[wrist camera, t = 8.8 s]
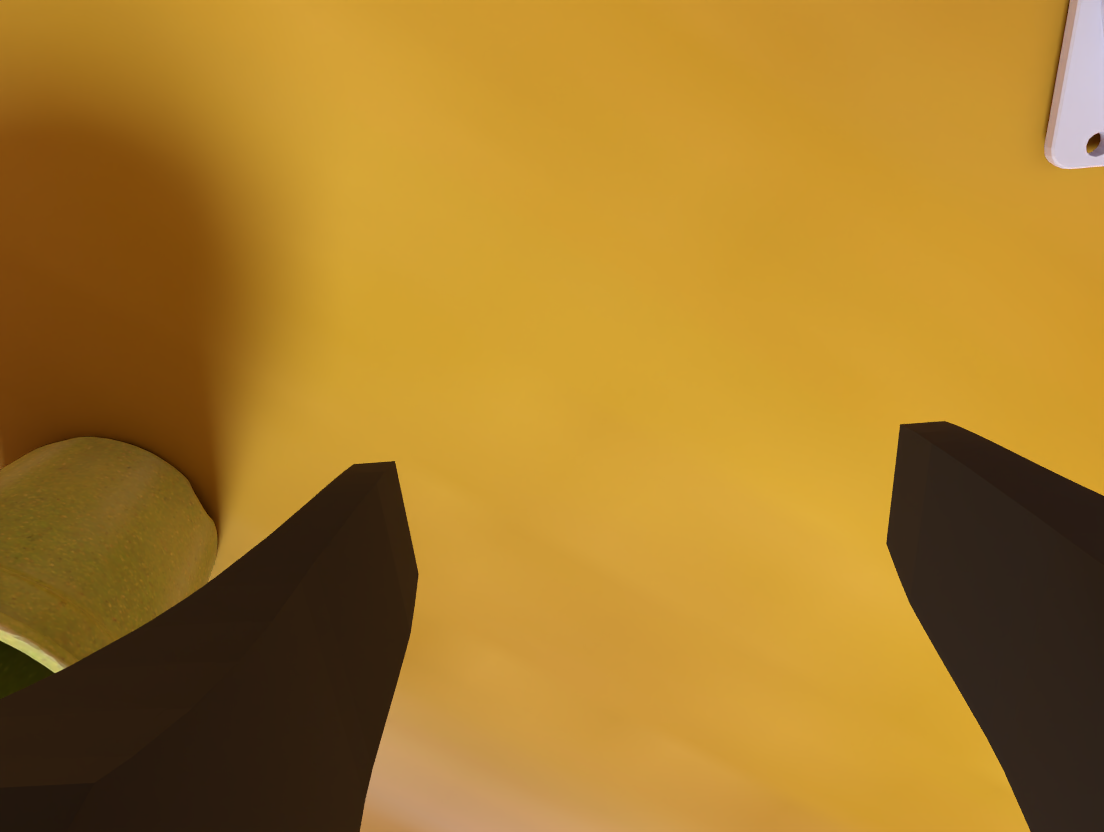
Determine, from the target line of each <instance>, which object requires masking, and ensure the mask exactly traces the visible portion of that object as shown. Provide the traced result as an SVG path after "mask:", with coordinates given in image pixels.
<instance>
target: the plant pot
mask: <svg viewBox="0 0 1104 832" xmlns="http://www.w3.org/2000/svg"><path fill="white" fill-rule="evenodd" d="M217 545H218V539H217V531H216V527H215V524H214V521H213V520H212V519H211V518H210V517H209V516H208V514H207V513H206V512H205V510H204V509H203V507H202V505H201V503H200V501H199V500H198V498H197V496H196V495H195V493H194V491H193V489H192V487H191V484H190V482H189V481H188V480H187V478H186V477H185V476H184V475H183V474H182V473H180V472H179V471H178V470H177V469H176V468H174V467H173V466H172V465H170V464H169V463H167V462H166V461H164V460H163V459H161V458H159V457H158V456H156V455H154V454H152V453H151V452H149V451H146V450H144V449H141V448H139V447H136V446H134V445H131V444H128V443H125V442H121V441H117V440H112V439H107V438H99V437H77V438H72V439H68V440H64V441H60V442H56V443H52V444H49V445H45V446H42V447H40V448H37V449H35V450H33V451H31V452H29V453H28V454H26V455H24V456H22V457H21V458H19V459H17V460H16V461H14V462H12V463H11V464H9V465H7V466H6V467H4V468H2V469H1V470H0V699H1V698H4V697H6V696H8V695H10V694H12V693H15V692H17V691H19V690H21V689H23V688H26V687H28V686H30V685H32V684H34V683H36V682H38V681H40V680H42V679H44V678H46V677H48V676H50V675H52V674H54V673H57V672H59V671H61V670H63V669H65V668H66V667H68V666H70V665H72V664H74V663H76V662H78V661H80V660H81V659H83V658H85V657H87V656H89V655H90V654H92V653H94V652H96V651H98V650H99V649H101V648H103V647H105V646H107V645H109V644H110V643H112V642H114V641H116V640H118V639H119V638H121V637H123V636H125V635H127V634H128V633H130V632H132V631H134V630H136V629H138V628H139V627H141V626H143V625H144V624H146V623H147V622H149V621H151V620H152V619H154V618H156V617H157V616H159V615H160V614H162V613H163V612H165V611H166V610H168V609H170V608H171V607H173V606H174V605H176V604H177V603H179V602H180V601H182V600H184V599H185V598H187V597H188V596H190V595H191V594H192V593H194V592H195V591H197V590H198V589H200V588H201V587H203V586H204V585H205V584H207V583H208V580H209V577H210V574H211V571H212V569H213V566H214V564H215V559H216V554H217Z"/></svg>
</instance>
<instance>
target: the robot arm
mask: <svg viewBox="0 0 1104 832" xmlns="http://www.w3.org/2000/svg"><path fill="white" fill-rule="evenodd" d="M1097 133H1100V137H1101V141H1100V143H1099V145H1098V147H1097V148H1096V149H1095V150H1094V151H1093V152H1090V153H1087V151H1086V145H1087V143H1088V140H1089V139H1090V138H1091V137H1092V136H1093V135H1094V134H1097ZM1044 148H1045V156H1046V158H1047V160H1048V162H1050V163H1051V164H1053V165H1055V166H1057V167H1060V168H1065V169H1075V168H1087V167H1098V166H1104V0H1070V4H1069V10H1068V16H1067V21H1066V27H1065V33H1064V38H1063V44H1062V50H1061V55H1060V61H1059V67H1058V72H1057V78H1056V84H1055V89H1054V95H1053V101H1052V106H1051V112H1050V118H1049V123H1048V129H1047V134H1046V140H1045V146H1044ZM886 544H887V547H888V549H889V552H890V555H891V557H892V560H893V563H894V565H895V568H896V571H897V573H898V576H899V578H900V581H901V583H902V586H903V588H904V591H905V593H906V595H907V598H908V600H909V603H910V605H911V606H912V608H913V610H914V612H915V614H916V616H917V617H918V619H919V621H920V623H921V624H922V626H923V628H924V630H925V632H926V633H927V635H928V637H929V639H930V640H931V642H932V644H933V646H934V647H935V649H936V651H937V653H938V654H939V656H940V658H941V660H942V661H943V663H944V665H945V666H946V668H947V670H948V672H949V673H950V675H951V677H952V679H953V680H954V682H955V684H956V685H957V687H958V689H959V691H960V692H961V694H962V696H963V698H964V699H965V701H966V703H967V704H968V706H969V708H970V710H971V711H972V713H973V715H974V717H975V718H976V720H977V722H978V723H979V725H980V727H981V729H982V730H983V732H984V734H985V736H986V737H987V739H988V741H989V743H990V745H991V747H992V749H993V751H994V753H995V755H996V756H997V758H998V760H999V762H1000V764H1001V766H1002V768H1003V770H1004V772H1005V774H1006V777H1007V779H1008V781H1009V784H1010V786H1011V788H1012V790H1013V793H1014V795H1015V797H1016V799H1017V802H1018V804H1019V806H1020V808H1021V811H1022V813H1023V815H1024V817H1025V820H1026V822H1027V824H1028V826H1029V829H1030V831H1031V832H1104V496H1103V495H1101V494H1098V493H1096V492H1094V491H1092V490H1090V489H1088V488H1085V487H1083V486H1081V485H1079V484H1077V483H1075V482H1073V481H1071V480H1069V479H1067V478H1064V477H1062V476H1060V475H1058V474H1056V473H1054V472H1052V471H1050V470H1048V469H1046V468H1044V467H1042V466H1040V465H1038V464H1036V463H1034V462H1032V461H1030V460H1028V459H1026V458H1024V457H1022V456H1020V455H1018V454H1016V453H1014V452H1012V451H1010V450H1008V449H1006V448H1004V447H1002V446H1000V445H998V444H996V443H994V442H992V441H990V440H987V439H985V438H983V437H981V436H979V435H977V434H975V433H973V432H970V431H968V430H966V429H964V428H961V427H959V426H957V425H954V424H951V423H949V422H946V421H941V422H927V423H913V424H900V431H899V440H898V448H897V457H896V465H895V474H894V483H893V491H892V500H891V508H890V517H889V526H888V534H887V543H886ZM417 582H418V569H417V564H416V560H415V555H414V550H413V545H412V541H411V536H410V531H409V526H408V522H407V517H406V512H405V507H404V503H403V498H402V493H401V488H400V483H399V479H398V474H397V469H396V464H395V461H392V462H378V463H364V464H354V465H352V466H351V467H349V468H348V469H347V470H345V471H344V472H343V473H342V474H340V475H339V476H338V477H337V478H336V479H334V480H333V481H332V482H331V483H330V484H328V485H327V486H326V487H325V488H324V489H323V490H322V491H320V492H319V493H318V494H317V495H316V496H315V497H314V498H312V499H311V500H310V501H309V502H308V503H307V504H306V505H304V506H303V507H302V508H301V509H300V510H299V511H297V512H296V513H295V514H294V515H293V516H291V517H290V518H289V519H288V520H287V521H286V522H284V523H283V524H282V525H281V526H280V527H279V528H277V529H276V530H275V531H274V532H273V533H272V534H270V535H269V536H268V537H267V538H265V539H264V540H263V541H262V542H260V543H259V544H258V545H256V546H255V547H254V548H253V549H251V550H250V551H249V552H247V553H246V554H245V555H244V556H242V557H241V558H240V559H238V560H237V561H236V562H235V563H233V564H232V565H231V566H229V567H228V568H227V569H226V570H224V571H223V572H222V573H220V574H219V575H218V576H217V577H215V578H214V579H212V580H211V581H210V582H208V583H207V584H205V585H204V586H203V587H201V588H200V589H198V590H197V591H195V592H194V593H192V594H191V595H190V596H188V597H187V598H185V599H184V600H182V601H180V602H179V603H177V604H176V605H174V606H173V607H171V608H170V609H168V610H166V611H165V612H163V613H162V614H160V615H159V616H157V617H156V618H154V619H152V620H151V621H149V622H147V623H146V624H144V625H143V626H141V627H139V628H138V629H136V630H134V631H132V632H130V633H128V634H127V635H125V636H123V637H121V638H119V639H118V640H116V641H114V642H112V643H110V644H109V645H107V646H105V647H103V648H101V649H99V650H98V651H96V652H94V653H92V654H90V655H89V656H87V657H85V658H83V659H81V660H80V661H78V662H76V663H74V664H72V665H70V666H68V667H66V668H65V669H63V670H61V671H59V672H57V673H54V674H52V675H50V676H48V677H46V678H44V679H42V680H40V681H38V682H36V683H34V684H32V685H30V686H28V687H26V688H23V689H21V690H19V691H17V692H15V693H12V694H10V695H8V696H6V697H4V698H1V699H0V832H360V826H361V821H362V815H363V809H364V803H365V798H366V794H367V790H368V786H369V781H370V777H371V773H372V769H373V765H374V762H375V758H376V755H377V751H378V748H379V744H380V741H381V737H382V734H383V730H384V727H385V723H386V720H387V716H388V713H389V709H390V706H391V702H392V699H393V695H394V691H395V688H396V684H397V681H398V677H399V674H400V670H401V667H402V663H403V659H404V656H405V652H406V648H407V645H408V641H409V637H410V633H411V627H412V620H413V613H414V606H415V598H416V590H417Z"/></svg>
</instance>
